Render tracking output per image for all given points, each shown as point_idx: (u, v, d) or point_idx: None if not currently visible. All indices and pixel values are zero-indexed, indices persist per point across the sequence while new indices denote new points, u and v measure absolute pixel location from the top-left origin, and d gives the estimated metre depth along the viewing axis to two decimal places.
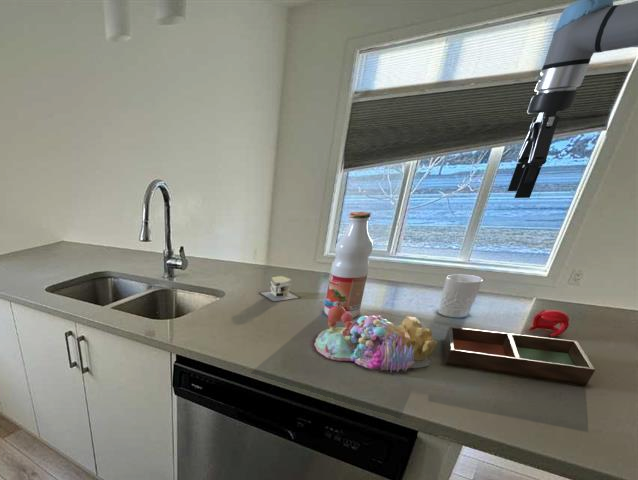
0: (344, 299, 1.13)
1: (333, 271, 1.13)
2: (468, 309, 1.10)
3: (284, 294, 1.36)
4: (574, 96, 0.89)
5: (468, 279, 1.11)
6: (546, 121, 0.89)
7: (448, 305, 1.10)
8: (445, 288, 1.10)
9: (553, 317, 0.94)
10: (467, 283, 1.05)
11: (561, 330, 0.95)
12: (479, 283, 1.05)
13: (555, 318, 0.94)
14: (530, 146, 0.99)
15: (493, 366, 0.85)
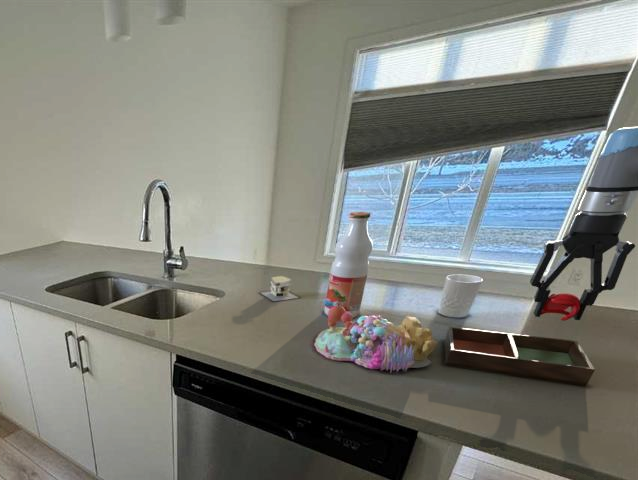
0: (344, 299, 1.13)
1: (333, 271, 1.13)
2: (468, 309, 1.10)
3: (284, 294, 1.36)
4: None
5: (468, 279, 1.11)
6: None
7: (448, 305, 1.10)
8: (445, 288, 1.10)
9: (563, 300, 0.92)
10: (467, 283, 1.05)
11: (572, 313, 0.92)
12: (479, 283, 1.05)
13: (566, 301, 0.92)
14: None
15: (493, 366, 0.85)
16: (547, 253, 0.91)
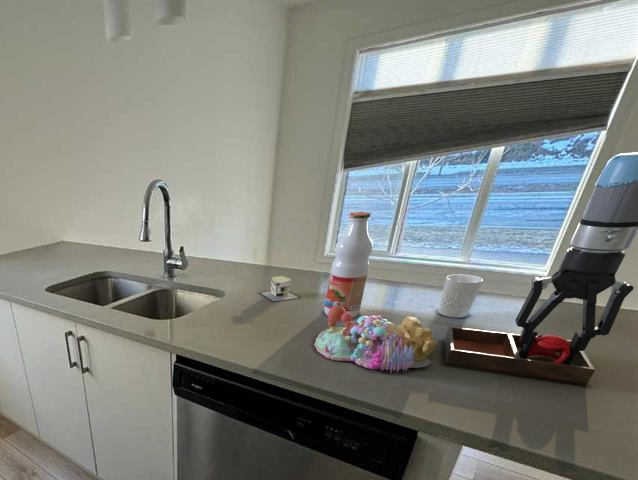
0: (344, 299, 1.13)
1: (333, 271, 1.13)
2: (468, 309, 1.10)
3: (284, 294, 1.36)
4: None
5: (468, 279, 1.11)
6: None
7: (448, 305, 1.10)
8: (445, 288, 1.10)
9: (552, 344, 0.82)
10: (467, 283, 1.05)
11: (561, 358, 0.82)
12: (479, 283, 1.05)
13: (554, 345, 0.81)
14: None
15: (493, 366, 0.85)
16: (534, 291, 0.80)
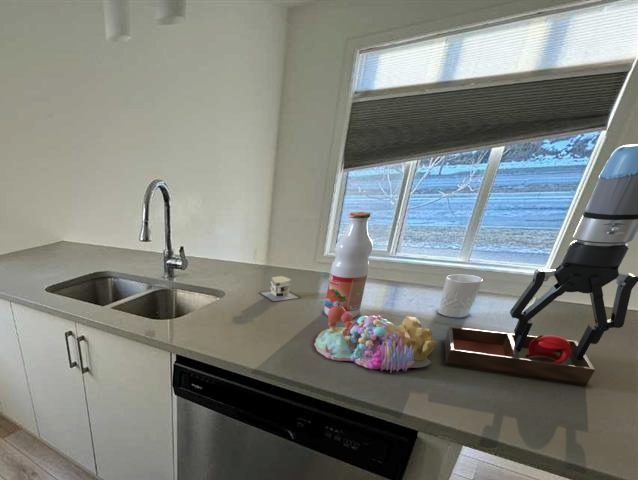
0: (344, 299, 1.13)
1: (333, 271, 1.13)
2: (468, 309, 1.10)
3: (284, 294, 1.36)
4: None
5: (468, 279, 1.11)
6: None
7: (448, 305, 1.10)
8: (445, 288, 1.10)
9: (552, 344, 0.82)
10: (467, 283, 1.05)
11: (562, 359, 0.82)
12: (479, 283, 1.05)
13: (555, 345, 0.81)
14: None
15: (493, 366, 0.85)
16: (535, 283, 0.80)
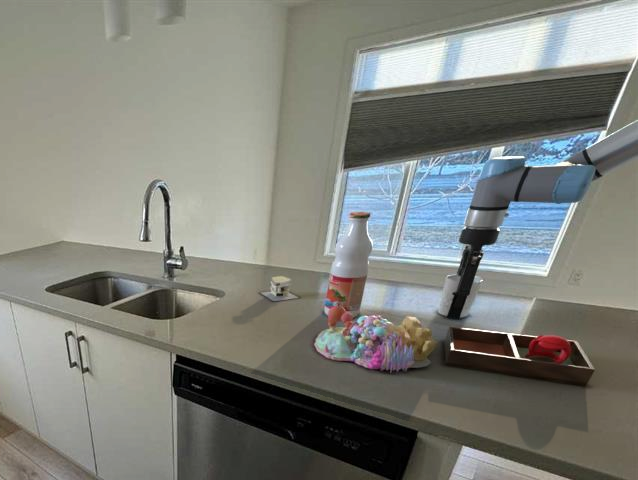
0: (344, 299, 1.13)
1: (333, 271, 1.13)
2: (468, 309, 1.10)
3: (284, 294, 1.36)
4: None
5: None
6: None
7: (448, 305, 1.10)
8: (445, 288, 1.10)
9: (552, 344, 0.82)
10: None
11: (562, 359, 0.82)
12: (479, 283, 1.05)
13: (555, 345, 0.81)
14: None
15: (493, 366, 0.85)
16: (478, 265, 1.01)
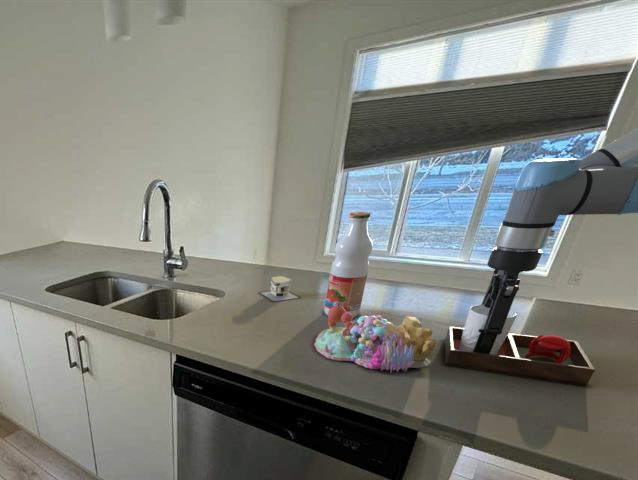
0: (344, 299, 1.13)
1: (333, 271, 1.13)
2: (497, 349, 0.88)
3: (284, 294, 1.36)
4: None
5: None
6: None
7: (472, 343, 0.88)
8: (468, 322, 0.88)
9: (552, 344, 0.82)
10: None
11: (562, 359, 0.82)
12: (513, 318, 0.83)
13: (555, 345, 0.81)
14: None
15: (493, 366, 0.85)
16: (514, 297, 0.79)
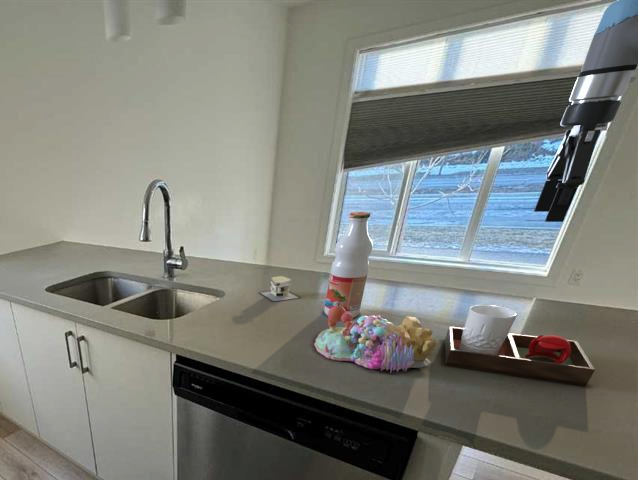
0: (344, 299, 1.13)
1: (333, 271, 1.13)
2: (497, 349, 0.88)
3: (284, 294, 1.36)
4: None
5: (497, 311, 0.89)
6: None
7: (472, 343, 0.88)
8: (468, 322, 0.88)
9: (552, 344, 0.82)
10: (497, 318, 0.83)
11: (562, 359, 0.82)
12: (513, 318, 0.83)
13: (555, 345, 0.81)
14: None
15: (493, 366, 0.85)
16: None
